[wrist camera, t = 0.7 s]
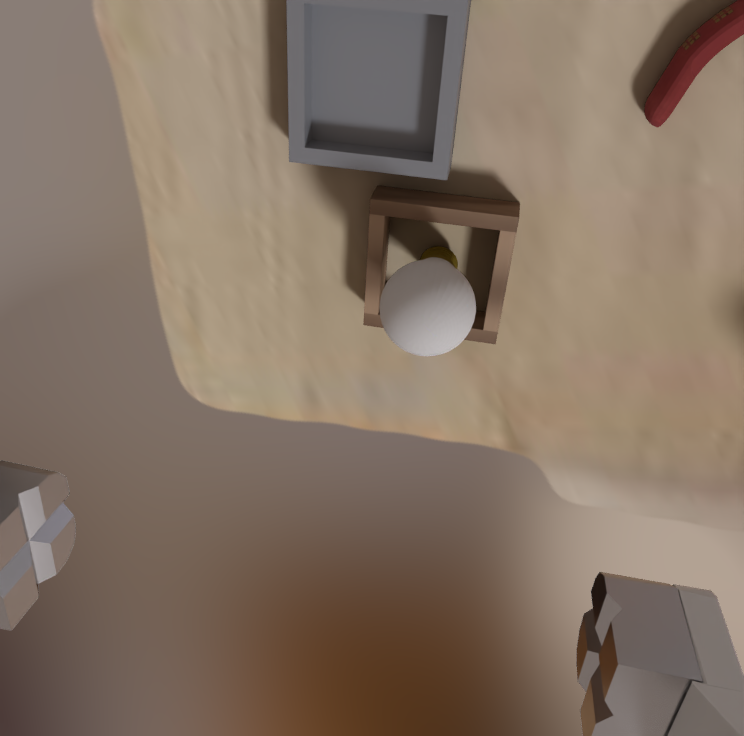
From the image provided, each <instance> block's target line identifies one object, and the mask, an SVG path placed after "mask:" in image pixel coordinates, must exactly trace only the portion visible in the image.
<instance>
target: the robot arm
mask: <svg viewBox="0 0 744 736" xmlns="http://www.w3.org/2000/svg"><path fill="white" fill-rule="evenodd" d="M69 494H70V492H69V487H68V483H67V479H66V476H64V475H62V474H60V473H58V472H55V471H50V470H46V469H40V468H36V467H31V466H27V465H22V464H17V463H12V462H8V461H3V460H1V461H0V629H5V630H10V631H11V630H12V629H13V628H14V627H15V626H16V624H17V623H18V622H19V621H20V619H21V618H22V617H23V616H24V614H25V613H26V612H27V611H28V610H29V608H30V607H31V606H32V605H33V603H34V602H35V601H36V600H37V598H38V597H39V587H38V584H39V583H41V582H43V581H44V580H47V579H48V578H50V577H53V576H54V575H57V573H58V572H59V571H60V569H61V568H62V567H63V565H64V564H65V562H66V561H67V560H68V557H69V555H70V552H71V550H72V547H73V545H74V542H75V532H76V526H75V519H74V515H73V514H72V513H71V512H70V511H69V509H68V508H67V507H66V506H65V505H64V503H63V502H64V501H65V499H66V498H67V497H68V495H69ZM591 596H592V604H593V609H591V610H589V611H588V612H586V613H584V615H583V619H582V623H581V626H580V630H579V636H578V643H577V662H576V664H577V665H576V666H577V679H578V682H579V684H580V685H581V686H582V688H583V689H584V690H585V692H586V694H585V697H584V700H583V703H582V706H581V709H580V713H581V722H582V734H583V736H744V675H743V672H742V669H741V666H740V663H739V661H738V657H737V654H736V651H735V649H734V646H733V643H732V640H731V637H730V634H729V631H728V628H727V625H726V623H725V619H724V617H723V614H722V611H721V608H720V605H719V602H718V599H717V596H716V595H715V594H714V593H713V592H712V591H710V590H704V589H698V588H692V587H686V586H680V585H670V584H666V583H660V582H655V581H649V580H643V579H638V578H631V577H626V576H621V575H615V574H609V573H603V572H599V574H598V575H597V577H596V578H595V581H594V584H593V587H592V590H591Z"/></svg>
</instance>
